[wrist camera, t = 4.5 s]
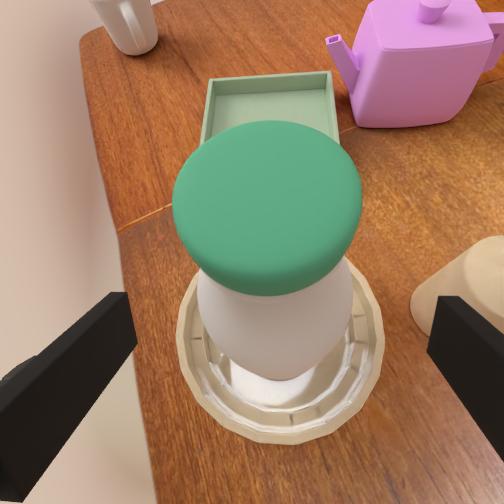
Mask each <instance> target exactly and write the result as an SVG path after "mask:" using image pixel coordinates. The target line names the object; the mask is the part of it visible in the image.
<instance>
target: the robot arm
mask: <svg viewBox="0 0 504 504" xmlns="http://www.w3.org/2000/svg"><path fill="white" fill-rule="evenodd" d="M137 344H138V342H137V337H136V332H135V327H134V323H133V318H132V313H131V309H130V304H129V299H128V294H127V292H110V293H109V294H108V295H107V296H106V297H104V298H103V299H102V300H101V301H100V302H99V303H98V304H96V305H95V306H94V307H93V308H92V309H91V310H90V311H88V312H87V313H86V314H85V315H84V316H83V317H81V318H80V319H79V320H78V321H77V322H75V323H74V324H73V325H72V326H71V327H70V328H69V329H67V330H66V331H65V332H64V333H63V334H62V335H61V336H59V337H58V338H57V339H56V340H55V341H53V342H52V343H51V344H50V345H49V346H48V347H47V348H45V349H44V350H43V351H42V352H41V353H40V354H38V355H37V356H33V357H32V358H30V359H28V360H26V361H24V362H23V363H21V364H19V365H18V366H16V367H15V368H14V369H12V370H11V371H10V372H9V373H8V374H7V375H5V376H4V377H3V378H2V380H1V381H0V501H10V502H21V503H22V502H23V501H24V500H25V498H26V497H27V495H28V494H29V492H30V491H31V490H32V489H33V487H34V486H35V484H36V483H37V482H38V480H39V479H40V477H41V476H42V475H43V473H44V472H45V471H46V469H47V468H48V466H49V465H50V464H51V462H52V461H53V460H54V458H55V457H56V455H57V454H58V453H59V451H60V450H61V449H62V447H63V446H64V444H65V443H66V441H67V440H68V439H69V438H70V436H71V435H72V433H73V432H74V430H75V429H76V428H77V426H78V425H79V424H80V422H81V421H82V419H83V418H84V417H85V415H86V414H87V413H88V411H89V410H90V409H91V407H92V406H93V404H94V403H95V402H96V400H97V399H98V397H99V396H100V394H101V393H102V392H103V390H104V389H105V388H106V386H107V385H108V384H109V382H110V381H111V379H112V378H113V377H114V375H115V374H116V373H117V371H118V370H119V368H120V367H121V366H122V364H123V363H124V362H125V360H126V359H127V357H128V356H129V355H130V353H131V352H132V351H133V349H134V348H135V346H136V345H137ZM427 353H428V355H429V356H430V357H431V359H432V360H433V362H434V363H435V365H436V366H437V367H438V369H439V370H440V372H441V373H442V375H443V376H444V378H445V379H446V380H447V382H448V383H449V385H450V386H451V388H452V389H453V390H454V392H455V393H456V395H457V396H458V398H459V399H460V400H461V402H462V403H463V405H464V406H465V408H466V409H467V410H468V412H469V413H470V415H471V416H472V418H473V419H474V420H475V422H476V423H477V425H478V426H479V428H480V429H481V430H482V432H483V433H484V435H485V436H486V438H487V439H488V441H489V442H490V443H491V445H492V446H493V448H494V449H495V451H496V452H497V453H498V455H499V456H500V458H501V459H502V461H503V462H504V334H503V333H502V332H500V331H499V330H498V329H497V328H496V327H495V326H493V325H492V324H491V323H490V322H489V321H488V320H486V319H485V318H484V317H483V316H482V315H481V314H479V313H478V312H477V311H476V310H475V309H474V308H472V307H471V306H470V305H469V304H468V303H466V302H465V301H464V300H463V299H462V298H461V297H459V296H438V299H437V304H436V309H435V313H434V318H433V323H432V328H431V333H430V338H429V343H428V348H427Z"/></svg>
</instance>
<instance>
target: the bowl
mask: <svg viewBox="0 0 504 504" xmlns="http://www.w3.org/2000/svg"><path fill="white" fill-rule="evenodd" d="M345 258H346V257H345ZM346 261H347V263H348V266H349V269H350V273H351V277H352V283H353V305H352V311H351V315H350V319H349V322H348V324H347V327H346V330H345V332H344V334H343V336H342V337H341V339H340V341H339V342H338V343H337V345H336V346H335V347H334V348H333V350H332V351H331V352H330V353H329V354H328V355H327V356H326V357H325V358H324V359H323V360H322V361H321V362H319V363H318V364H317V365H315V366H314V367H313V368H311V369H310V370H308V371H306V372H305V373H303V374H301V375H299V376H297V377H294V378H291V379H286V380H271V379H267V378H263V377H261V376H258V375H256V374H253V373H251V372H249V371H248V370H246V369H244V368H242V367H240V366H239V365H237V364H236V363H234V362H233V361H232V360H231V359H229V358H228V357H227V356H226V355H225V354H224V353H223V352H222V351H221V350H220V349H219V348H218V347H217V346H216V345H215V343H214V342H213V340H212V339H211V337H210V336H209V334H208V332H207V330H206V328H205V326H204V324H203V321H202V319H201V315H200V312H199V306H198V300H197V283H198V276H199V271H200V270H199V271H198V273H197V274H196V275H195V276H194V277H193V279H192V281H191V283H190V285H189V287H188V289H187V292H186V294H185V296H184V298H183V300H182V302H181V305H180V308H179V315H178V322H177V329H176V344H177V351H178V357H179V363H180V369H181V372H182V374H183V376H184V378H185V380H186V382H187V384H188V386H189V388H190V390H191V392H192V394H193V395H194V397H195V399H196V401H197V402H198V404H200V405H201V406H202V407H203V408H204V409H205V410H206V411H207V412H208V413H209V414H210V415H211V416H212V417H213V418H214V419H215V420H216V421H217V422H218V423H219V424H220V425H221V426H222V427H224V428H226V429H228V430H230V431H232V432H234V433H237V434H239V435H241V436H243V437H246V438H248V439H250V440H252V441H254V442H258V443H267V444H284V445H295V444H296V445H298V444H301V443H304V442H307V441H310V440H313V439H316V438H319V437H323V436H326V435H329V434H331V433H333V432H334V431H336V430H337V429H338V428H339V427H340V426H342V425H343V424H344V423H345V422H346V421H348V420H349V419H350V418H351V417H353V416H354V415H355V414H356V413H357V412H359V411H360V409H362V407H363V405H364V403H365V402H366V400H367V398H368V396H369V395H370V393H371V391H372V389H373V388H374V386H375V384H376V382H377V381H378V379H379V377H380V371H381V366H382V360H383V354H384V349H385V335H384V328H383V322H382V315H381V309H380V307H379V304H378V302H377V300H376V298H375V296H374V294H373V292H372V290H371V288H370V286H369V284H368V282H367V280H366V278H365V277H364V276H363V275H362V274H361V273H360V272H359V271H358V270H357V268H356V267H355V266H354V265H353V264H352V263H351V262H350V261H349V260H348V259H347V258H346Z"/></svg>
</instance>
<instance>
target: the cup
mask: <svg viewBox="0 0 504 504" xmlns="http://www.w3.org/2000/svg"><path fill="white" fill-rule="evenodd" d="M89 2H90V3H91V5H92V7H93V8H94V10H95V12H96V13H97V15H98V16H99V18H100V20H101V22H102V23H103V25H104V27H105V28H106V30H107V32H108V33H109V35H110V37H111V38H112V40H113V42H114V43H115V45H116V46H117V47H118V49H119V50H120V51H122V52H123V53H125V54H128V55H140V54H144V53H146V52H148V51H150V50H151V49H152V48H153V47H154V46H155V45H156V43H157V41H158V31H157V27H156V23H155V19H154V15H153V11H152V7H151V4H150V0H89Z"/></svg>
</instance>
